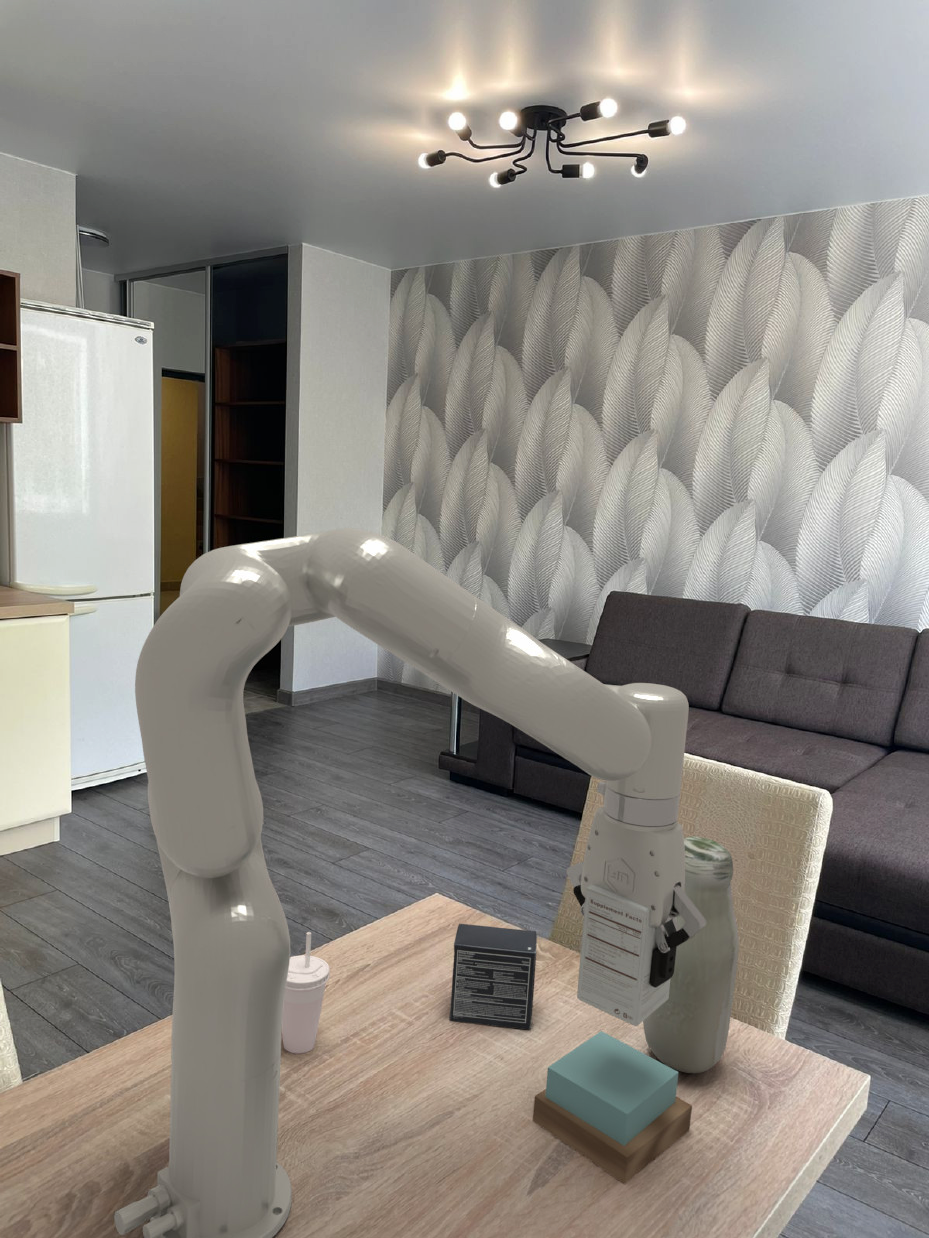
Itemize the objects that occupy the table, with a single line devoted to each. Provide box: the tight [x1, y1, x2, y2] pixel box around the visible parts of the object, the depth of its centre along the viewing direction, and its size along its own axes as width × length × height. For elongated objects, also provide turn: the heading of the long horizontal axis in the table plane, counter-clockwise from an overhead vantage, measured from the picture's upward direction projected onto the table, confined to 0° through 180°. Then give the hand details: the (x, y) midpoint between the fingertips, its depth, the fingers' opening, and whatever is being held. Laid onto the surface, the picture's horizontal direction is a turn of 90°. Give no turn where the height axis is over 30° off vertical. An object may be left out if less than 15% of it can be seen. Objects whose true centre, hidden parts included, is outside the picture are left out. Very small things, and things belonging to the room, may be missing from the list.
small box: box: [448, 923, 538, 1030], centre depth 119 cm, size 11×6×10 cm, turn 84°
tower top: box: [545, 1030, 680, 1146], centre depth 99 cm, size 10×10×4 cm
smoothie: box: [281, 931, 331, 1054], centre depth 109 cm, size 6×6×14 cm
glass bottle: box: [642, 836, 740, 1074], centre depth 110 cm, size 10×10×28 cm
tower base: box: [532, 1088, 693, 1185], centre depth 100 cm, size 12×12×4 cm
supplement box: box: [576, 884, 677, 1027], centre depth 97 cm, size 7×7×13 cm
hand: (626, 964), depth 97 cm, fingers closed on supplement box, 7 cm apart
